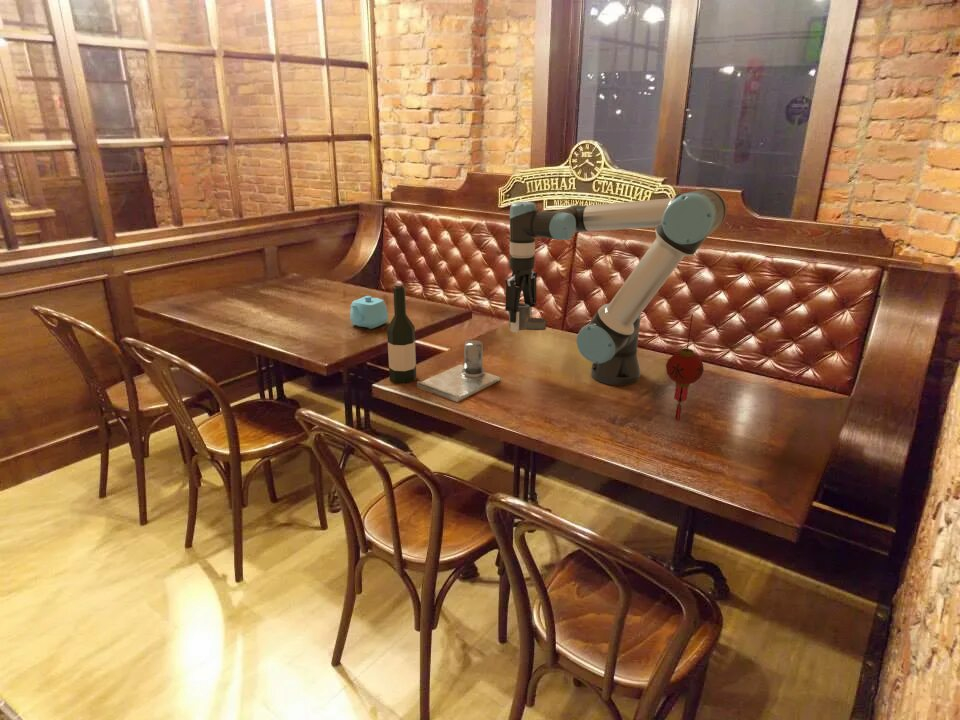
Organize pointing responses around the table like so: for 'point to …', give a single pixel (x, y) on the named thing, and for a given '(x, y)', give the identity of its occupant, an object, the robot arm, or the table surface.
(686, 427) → the table surface
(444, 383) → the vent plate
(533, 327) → the pipe
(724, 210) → the robot arm
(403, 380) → the wine bottle
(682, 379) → the lantern
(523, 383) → the table surface
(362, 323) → the teapot
